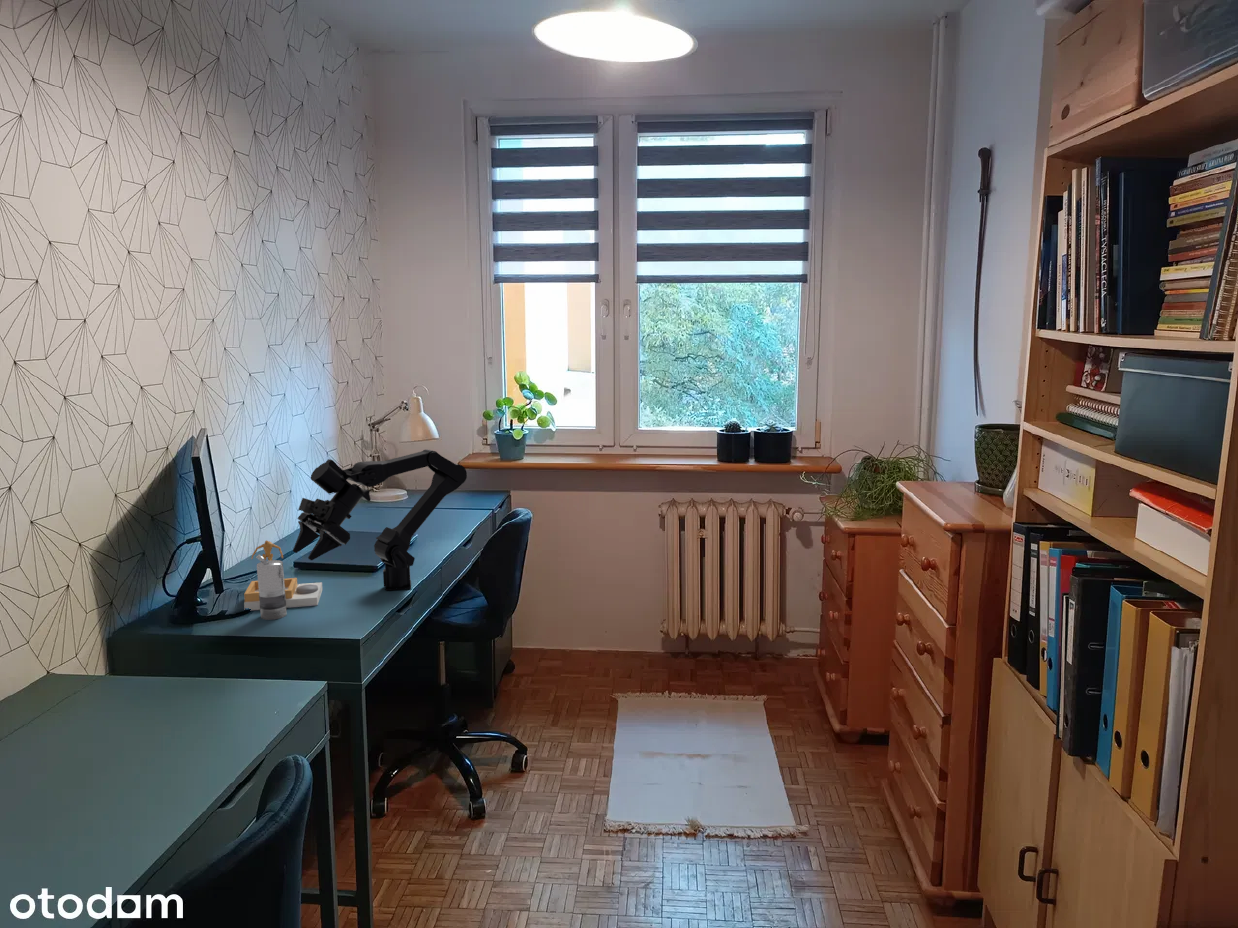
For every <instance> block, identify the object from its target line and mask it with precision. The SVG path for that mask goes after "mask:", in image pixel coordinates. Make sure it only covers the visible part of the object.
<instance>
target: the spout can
mask: <svg viewBox="0 0 1238 928" xmlns="http://www.w3.org/2000/svg"><path fill="white" fill-rule="evenodd" d="M255 558H256V559H257V560H258V561H259V563H257V564H256V574H257V581H258V587H259V602H260V610H259V611H260V619H262V620H266V621H271V620H272V621H273V620H278V619H282V618H283V619H284V617H287V608H286V595H285V585H284V579H285V573H284V562H283V561H282V560H277V559H274V560H273V559H272V560H270V561H269V560H267V559H266V560H265V559H264V558H263V555H261V554H260V553H259V554H257V556H256V557H255Z"/></svg>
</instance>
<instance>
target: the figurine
mask: <svg viewBox="0 0 1238 928" xmlns="http://www.w3.org/2000/svg"><path fill="white" fill-rule="evenodd" d="M273 548H276V549H278V551H279V553H280V558H281V559H282V560H283V559H284V554H283V551H282V548H281V546H280V545H276V544H275V543H272V541H269V540H265V541H264V543H263V544H261V545H258V546H257V547H256V548H255V550H254V552H253V553H252V555H251V559H253V558H254V556H255V554H256V553H257V551H258V550H259V549H263V550H264V553H262V557H263V558H264V559H265V560H266V561H270V560H273V558H274V554H273V553H271V552H272V549H273Z"/></svg>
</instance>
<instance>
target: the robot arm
mask: <svg viewBox="0 0 1238 928" xmlns="http://www.w3.org/2000/svg"><path fill="white" fill-rule="evenodd" d="M427 467H428V469H429V470H430V471H431V472H433V475H432V479H431V484H430V486H429V487H428V488H427V490H426V491H425V492H424V493H423V495H422V496H420V498H419V499H418V500H417V502H416V503H415V504H414V505H413V506H412V507H411V509H410V510H409V511H408V513H407V514H405V516H404V517H403V519H402V520H401V521H400V522H399V524H397V526H395V527H393V528H390V527H389V526H388V527H387V526H385V528H384V529H383V530H382V532H381V533H380V534H379V536H377V537H375V539H376V541H375V543H374V545H373V549H374V553H375V555H376V556H377V557H379V559H380V561H381V563H383V564H384V569H383V570H382V578H383V579H382V580H383V587H384V588H385V591H387V592H388V591H398V590H399V591H400V590H409V589H412V580H411V567H412V566H413V565H414V563H415V556H413V555H412V554H411V553H409V552H408V550H409V549H410V547H411V542H412V538H413V536H414V535H415V534H416V532H417V531H418V530H419V529H420V527H422V525H423V524H424V522H425V521H426V520H427V519H428V518H429V516H430V515H431V514H432V513H433V512H434V510H435V509H436V508H437V507H438V505H439V504H440V503H441V502H442V501H443V499H444V498H445V497H446V496H447V495H450V494H452V493H453V492H455V491H457V490H458V489H459V488H460V487H461V486H462V485H464V483H465V482H466V481H467V479H468V476H467V469H466V468H465V467H464V466H463V465H461V464H458V463H454V462H453V461H451V460H449V459H448V458H445V457H444V456H443V455H441V454H440V453H438V452H437V451H435V450H431V449H423V450H421V451H418V452H414V453H410V454H407V455H402V456H398V457H395V458H390V459H387V460H380V461H379V460H378V461H377V460H373V461H372V460H369V461H358V462H356V463H354V464H353V466H352V467H349V468H345V469H342V468H341V467H340V466H338V464H337V463H336V462H335V461H334V460H333V459H330V458H329V459H327V460H326V462H323V463H321V464H320V465H319V466H317V467H315V469H314V470H313V472H312V473H311V474H310V480H311V481H312V482H313V483H315V484H316V485H317V486H318V487H320V488H321V489H322V490H323V491H324V492H325V493H327V494H329V495H330V494H334V495H333V496H332V498H331V499H330V500H329V499H325V500H323V499H319V498H316V499H315V500H312V499H308V498H304V497H301V501H300V503H299V505H298V509H297V510H298V511H301V513H300V514H299V516H298V517H297V520H298V521H297V522H298V524H299V528H300V529H299V532H298V533H299V534H298V536H297V539H296V541H295V544H294V546H293V549H292V552H293V553H295V554H297V553H300V552H301V550H304V549H305V548H306V547H307V546H309V545H310V544H311V543H313V542H314V541H315V540H317V539H318V538H319V539H318V540H317V542H316V543H315V545H314V546H313V549H312V550H311V552H310V553H309V555H308V557H307V558H308V560H309V561H313V560H316V559H318V558H319V557H321V556H323V555H324V554H326V553H329V552H330V551H332V550H335V549H336V548H338V547H342V546H343V545H345V546H346V545H347V544H348V543H349V541H350V540H351V533H350V532H349V531H347V530H346V529H345V528H344V527H342V524H343V522H344V521H345V520H346V519H348V520H350V519H351V518H352V515H351V512H352V511H354V509H355V508H356V507H357V504H359V502H360V501H361V500H363V501H367V502H370V501H371V496H370V492H371V491H370V490H369V489H365V488H364V489H363V488H362V487H360V485H361V486H363V487H364V486H365V487H367V488H372V487H375V486H378V485H380V484H382V483H384V482H386V481H387V480H388V479H389V478H391V477H394V476H396V475H397V476H398V475H400V474H404V473H408V472H411V471H415V470H419V469H422V468H427ZM349 481H351V482H354V483H350V482H349Z"/></svg>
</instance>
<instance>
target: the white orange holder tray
mask: <svg viewBox="0 0 1238 928" xmlns="http://www.w3.org/2000/svg"><path fill="white" fill-rule="evenodd" d="M284 585H285V595H286V609H287V608H289V609H290V608H298V607H299V608H300V607H310V606H318V605H319V602H320V599H321V596H322V592H323V582H311V583H298V578H297V577H291V578H284ZM243 595H244V596H243V597H244V602H243V606H244V608H243V609H245V608H249V609H251V610H250V611H260V602H259V587H258V580H251V581H250V583H249V585H248V587H247V588H246V590H245V592H244V594H243Z"/></svg>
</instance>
